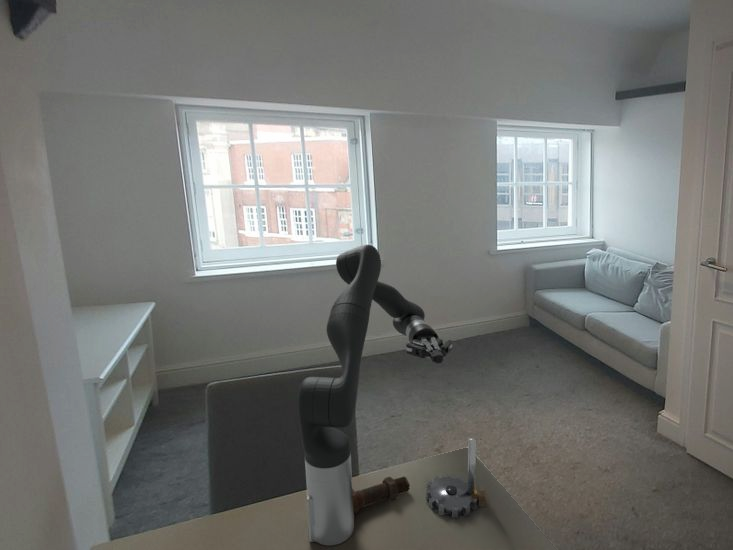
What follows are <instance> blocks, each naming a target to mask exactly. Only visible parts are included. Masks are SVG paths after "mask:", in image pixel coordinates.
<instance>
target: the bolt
mask: <svg viewBox="0 0 733 550" xmlns="http://www.w3.org/2000/svg"><path fill="white" fill-rule="evenodd" d="M410 486H411V484H410V481H409V480H408V477H406V476H401V477H397V478H395V479H394V478H392V477H391V476H387V477H385V478H384V479H383V480H382V483H378V484H376V485H373V486H370V487H367V488H363V489H360V490H354V488H352V493H353V514H354V517H355V516H357V515H358V513H359V510H360V508H363V507H365V506H369V505H370V504H375V503H378V502H380V501H383V500H387V501H390V502H393V501H395V500H397V499H398V497H399V495H400V494H403V493H407V492H409V491H410Z"/></svg>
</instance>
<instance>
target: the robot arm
mask: <svg viewBox="0 0 733 550" xmlns="http://www.w3.org/2000/svg"><path fill="white" fill-rule="evenodd" d="M335 260H336V261H335V264H336V270H337V274H338V275H339V277H340V278H341V280H342V281H343V282H345V283H346V284H347V287H346V288H345V289H344V290H343V291H342V292H341V293H340V295H339V296H337V298H336V299H335V301H334V302H333V305H332V307H331V308H330V309H331V310H330V313H329V317H328V320H327V324H326V335H327V337H328V338H327V339H328V340H329V342H330V344H331V347H332V348H333V350H334V353H335V354H336V356H337V358H338V361H339V363H340V365H341V369H342V373H341V375H340V377H327V376H324V377H323V376H308V377H306V378H304V379H303V380H302V381H301V383H300V386H299V390H298V395H297V411H298V421H299V426H300V427H299V428H300V429H299V430H300V435H301V436H300V437H301V445H302V449H303V452H304V453H303V454H304V466H305V481H306V482H305V483H306V506H307V507H306V509H307V511H306V512H307V525H308V535H309V543H310V542H311V543H313V542H314V543H315V542H316V543H318V544H320V545H322V546H336V545H339V544H342V543H344V542H346V541H347V540H349V538H350V537H351V536H352V534H353V532H354V529H355V516H354V514H353V493H352V489H353V475H352V454H351V441H350V438H349V437H348V435H347V434H345V433H344V432H343V431H342V430H340V428H341V429H342V428H347V427H348V426H350V425H351V423H352V421H353V420H354V416H355V413H356V407H357V405H356V404H357V399H358V391H359V382H360V381H359V379H360V369H361V363H362V362H361V361H362V356H363V351H364V346H365V341H366V337H367V331H368V326H369V322H370V313H371V308H372V302H373V301H374V302H375V303H376V304H377V305H378V306H380V307H381V308H382V309H383V310H384V311H385V313H387V314H388V315H389V316H390V317H391V318H393V320H392V325H393V327H394V329H395V331H396V332H398V333H399V334H401V335H403V336H405V337H406V339H407V341H408V342H409V343H408V342H407V343H406V344H405V348H406V350H405V351H406V354H408V355H411V356H415V357H416V358H417V357H418V358H420V359H426V358H428V359H430V360H431V362H432V363H435V364H442V363H443V362H444V357H446V356H447V355H448V354H449V353H451V352H452V350H453V340H451V339H448V340H447V341H443V339H442V338H439V336H438V334H437V332H436V331H435V330H434V328H432V327H431V325H430V324H429V323H428V322H426V321H425V316H426V315H425V311H424V310H423V308H421V307H420V305H418V304H416V303H415V302H412V301H409V300H408V299H406V298H405V297H404V296H403V294H402V293H401V292H400V291H399V290H397V289H396V288H395V287H393V286H392V285H390V284H387V283H384V282H381V281H379V278H380V275H381V269H382V260H381V255H380V253H379V251H378V249H377V248H376V247H375V246H374V245H372V244H362V245H360V246H359V245H358V246H357V247H354V248H352V249H348V250H346V251H344V252H342V253H340V254H338V256H337V257H336V259H335ZM337 428H339V429H337Z"/></svg>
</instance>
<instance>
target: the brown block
mask: <svg viewBox="0 0 733 550" xmlns="http://www.w3.org/2000/svg"><path fill="white" fill-rule="evenodd" d="M485 492H486V491H485V490H482V489H479V490H478V506H479V507H482V508H483V507H485V506H486V497H485V496H486V493H485Z"/></svg>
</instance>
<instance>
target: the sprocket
mask: <svg viewBox="0 0 733 550" xmlns="http://www.w3.org/2000/svg"><path fill="white" fill-rule="evenodd" d="M467 441H468V443H467V444H468V445H467V482H466V481H465V480H464V477H462V476H457V477H452V475H451V474H445V476H444V477H441V476H439V475H437V476H435V477H433V478H434V479H433V480H434V481H428V482H427V484H426V486H427V487H426V489H425V499H426V501H428V506H429V507H430V509H432V510H434V509H436V510H438V514H439V515H440V516H442V517H444V516H445V515H446V514H447V515H451V517H452V519H453V518H455V519H456V518H459V515H464V516H465V517H468V516H469V515H471V509H472V510H473V511H474V510H476V509H477V506H478V492H477V491H478V490H477V489H476V462H477V461H476V459H477V458H476V456H477V449H476V448H477V439H476V437H473V436H471V437H468V440H467Z"/></svg>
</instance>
